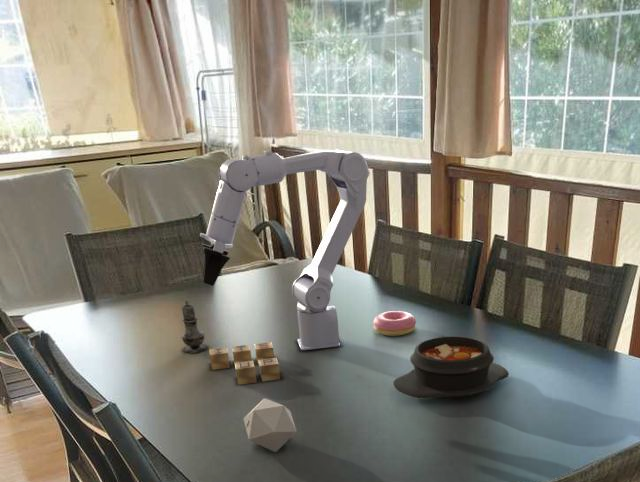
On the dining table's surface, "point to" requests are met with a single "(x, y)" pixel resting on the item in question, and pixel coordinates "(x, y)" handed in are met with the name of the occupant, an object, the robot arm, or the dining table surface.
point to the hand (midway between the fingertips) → (207, 281)
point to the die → (270, 425)
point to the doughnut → (394, 323)
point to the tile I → (219, 358)
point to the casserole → (450, 369)
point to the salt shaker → (192, 331)
